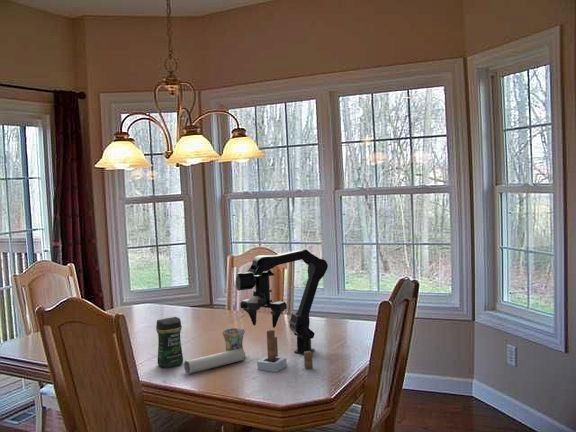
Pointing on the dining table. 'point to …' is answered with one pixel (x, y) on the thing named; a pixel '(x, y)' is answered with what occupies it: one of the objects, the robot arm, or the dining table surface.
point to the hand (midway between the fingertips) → (264, 326)
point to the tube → (213, 361)
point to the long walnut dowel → (271, 346)
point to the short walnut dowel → (308, 360)
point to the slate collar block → (271, 364)
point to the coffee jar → (169, 342)
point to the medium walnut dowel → (276, 347)
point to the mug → (233, 338)
